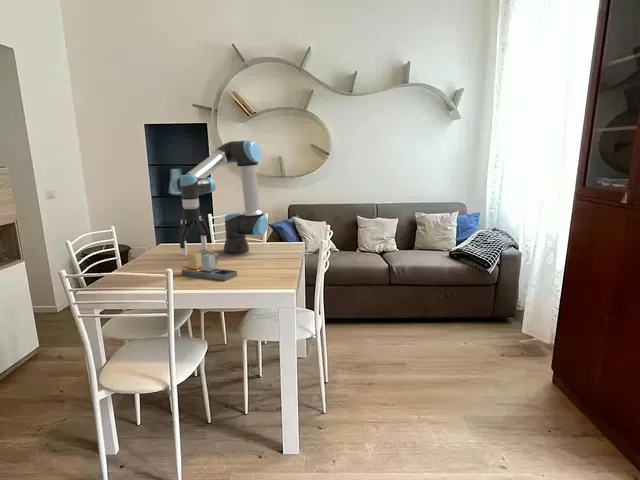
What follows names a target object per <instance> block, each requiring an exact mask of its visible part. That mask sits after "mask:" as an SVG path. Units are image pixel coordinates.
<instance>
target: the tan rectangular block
mask: <svg viewBox="0 0 640 480" xmlns="http://www.w3.org/2000/svg"><path fill="white" fill-rule="evenodd" d="M186 256H187V265H188V267H187V268H188V269H189V270H195V271H197V270H200V269H202V262H201V253H197V252H196V251H195V252H190V253H187V255H186Z"/></svg>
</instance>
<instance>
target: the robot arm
mask: <svg viewBox="0 0 640 480" xmlns="http://www.w3.org/2000/svg"><path fill="white" fill-rule="evenodd" d="M261 159H262V150H261V147H260V145H259V144H258V143H257V142H256V141H254V140H236V141H235V140H232V141H228V142H226V143H223V144H221V145H220V146H218V147H217V148H215V150H213V151H212V153H211V155H209V156H208V157H207V158H205V159H204V160H203V161H201V162H200V163H198V165H196V166H195V167H194V168H192V169H191V170H190V171H188V172H187V173H185V174H182V175H181V176H178V177H174V178H173V179H172V181H171V188H172V190H173V191H174V192H175V193H181V202H182V203H181V204H182V213H183V214H182V215H183V217H184V219H180V220H179V225H178V229H177V234H176V237H175V241H177V242H179V248H180V249H181V251H180V252H181V255H182V256H188V255H187V254H188V248H187V240H186V238H187V236H188V234H189V233H190V230H191V229H192V228H196V229H197V231H198V232H199V233H200V234H201V235H200V242H201V243H200V244H201V250H202V249H205V250H207V249H208V244H207V243H208V239H207V238H208V237H207V236H209V234H210V230H209V228H208V225H207V223H206V221H205V216H203V215H201V212H200V211H201V210H200V200H199V199H200V198H199V195H200V194H210V193H213V192H215V190H216V188H217V183H216V181H215V179H214V178H212V177H210V175H211V174H212V173H214V172H215V171H216V170H218V169H219V168H220V167H223V166H226V165H228V164H229V163H236V167H237V168H239V169H240V177H241V178H240V179H241V186H242V187H241V189H242V195H243V203H244V211H243V212H242V211H241V212H234V213H228V214H225V217H224V227H225V229H224V230H225V242H224V245H223V253H226V254H243V253H248V252H249V251H250V246H249V243H248V240H247V238H246V237H247V236H255V237H258V236H259V237H260V236H264V235H265V234H266V232H267V230H268V228H269V220H268V219H269V218H267V216H266V215H264V211H263V210H261V206H260V197H259V196H260V195H259V187H258V186H259V185H258V178H257V177H258V176H257V167H258V165H259V162H260V161H261Z"/></svg>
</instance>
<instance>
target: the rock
mask: <svg viewBox="0 0 640 480" xmlns="http://www.w3.org/2000/svg"><path fill="white" fill-rule="evenodd" d="M196 253H201V256H202V255H205V254H214V255H215V264H216V265H217V264H218V263H219V257H220V255H219V253H217V252H213V251H212V250H207V249H202V248H201V249H199V250H198V251H197V252H196Z"/></svg>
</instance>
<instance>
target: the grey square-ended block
mask: <svg viewBox="0 0 640 480" xmlns="http://www.w3.org/2000/svg"><path fill="white" fill-rule="evenodd" d="M201 262H202V272H207V273H211V272H213V271H216V265H217V264H215V255H214V254H205V255H202V256H201Z"/></svg>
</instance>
